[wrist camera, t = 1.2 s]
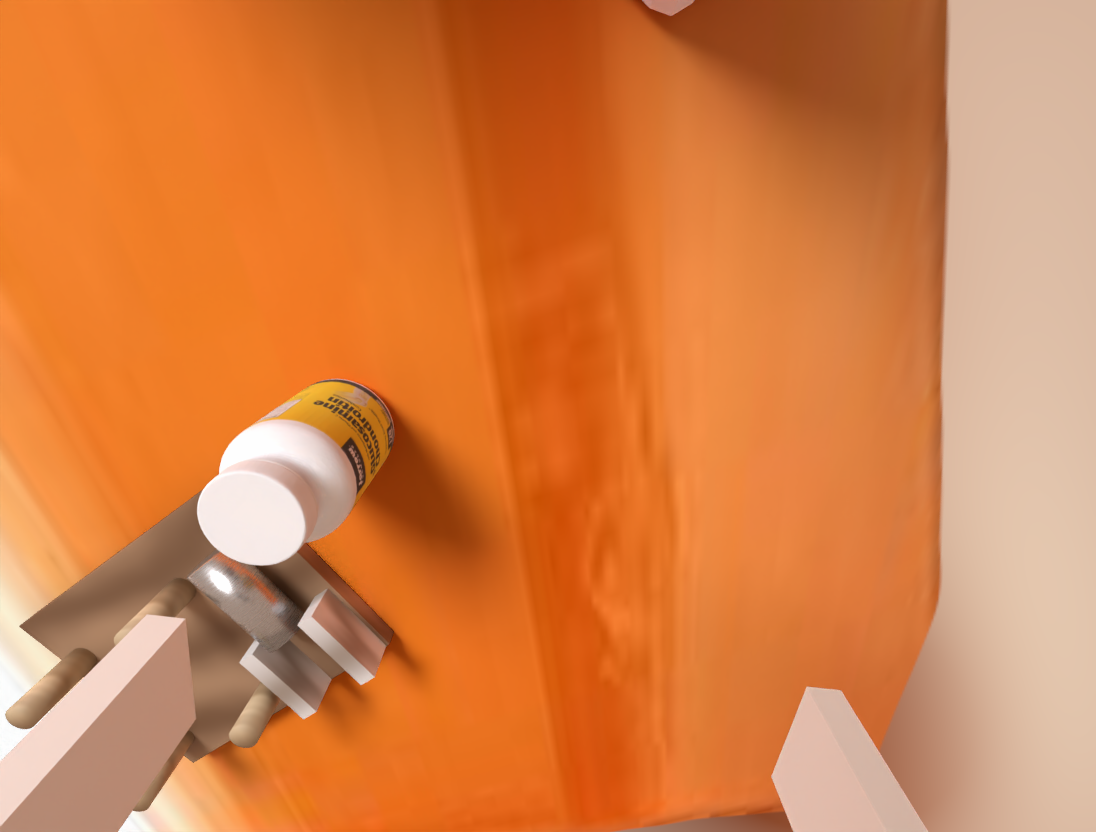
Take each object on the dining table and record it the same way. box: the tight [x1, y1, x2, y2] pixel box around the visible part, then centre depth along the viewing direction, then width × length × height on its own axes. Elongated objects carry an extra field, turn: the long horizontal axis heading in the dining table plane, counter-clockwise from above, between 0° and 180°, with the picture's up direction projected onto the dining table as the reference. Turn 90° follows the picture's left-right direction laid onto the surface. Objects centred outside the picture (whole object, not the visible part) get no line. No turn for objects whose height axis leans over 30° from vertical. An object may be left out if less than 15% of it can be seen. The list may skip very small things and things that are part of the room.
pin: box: [186, 549, 305, 653], centre depth 35 cm, size 7×3×3 cm, turn 35°
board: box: [5, 490, 394, 811], centre depth 37 cm, size 16×20×6 cm
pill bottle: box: [197, 379, 394, 566], centre depth 29 cm, size 6×6×12 cm
